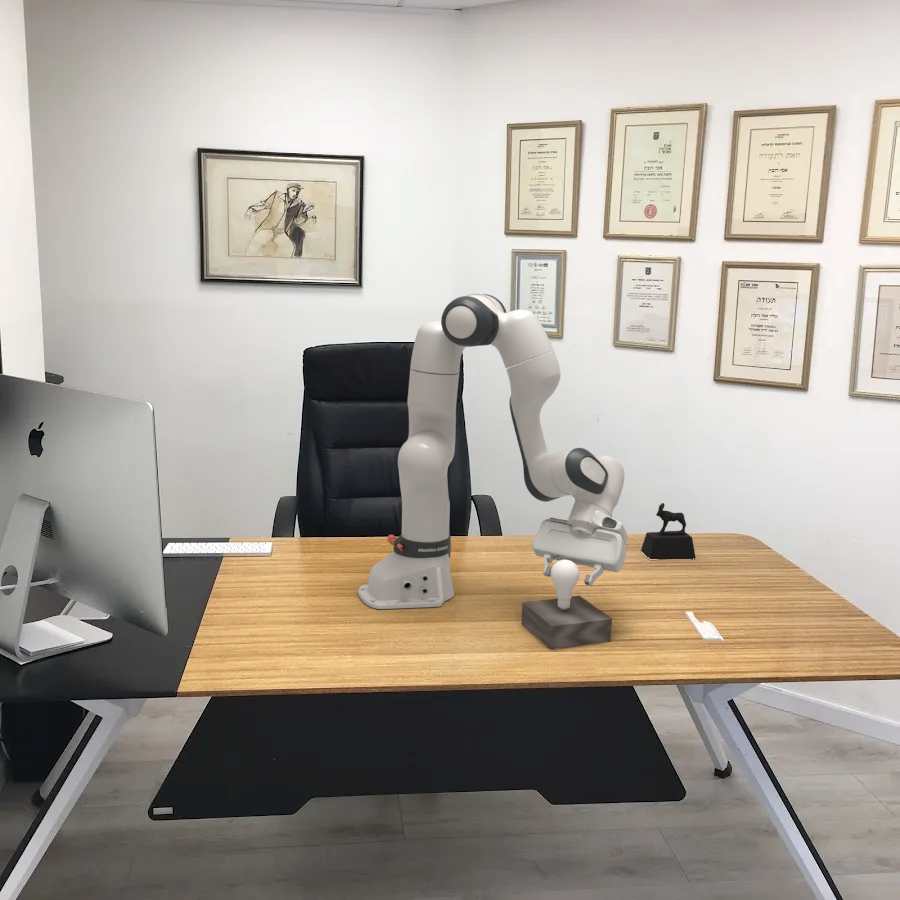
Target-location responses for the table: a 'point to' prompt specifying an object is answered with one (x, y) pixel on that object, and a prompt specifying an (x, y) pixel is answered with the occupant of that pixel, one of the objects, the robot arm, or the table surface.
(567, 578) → the lightbulb
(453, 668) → the table surface
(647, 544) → the sculpture
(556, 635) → the charcoal block
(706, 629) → the white plastic blade
